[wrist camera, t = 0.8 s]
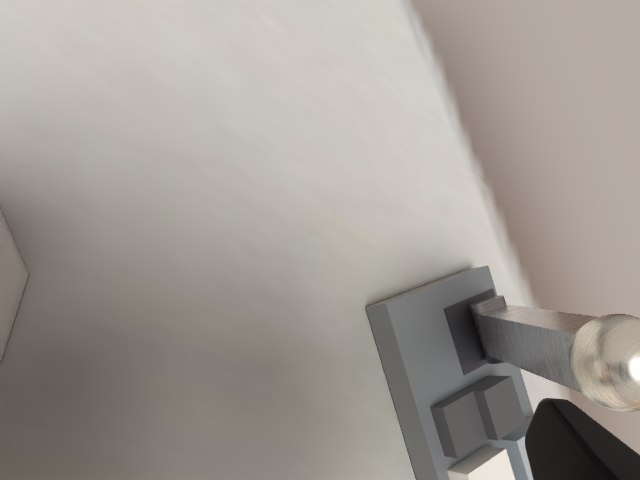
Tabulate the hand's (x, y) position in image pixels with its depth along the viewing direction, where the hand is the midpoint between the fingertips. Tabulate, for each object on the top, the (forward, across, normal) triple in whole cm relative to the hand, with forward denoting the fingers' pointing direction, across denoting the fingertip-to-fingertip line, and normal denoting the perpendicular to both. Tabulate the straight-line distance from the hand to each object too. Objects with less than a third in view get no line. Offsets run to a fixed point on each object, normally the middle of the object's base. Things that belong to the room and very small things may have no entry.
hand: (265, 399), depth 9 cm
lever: (+14, -11, +8) cm, 20 cm away
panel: (+12, -11, +15) cm, 22 cm away
